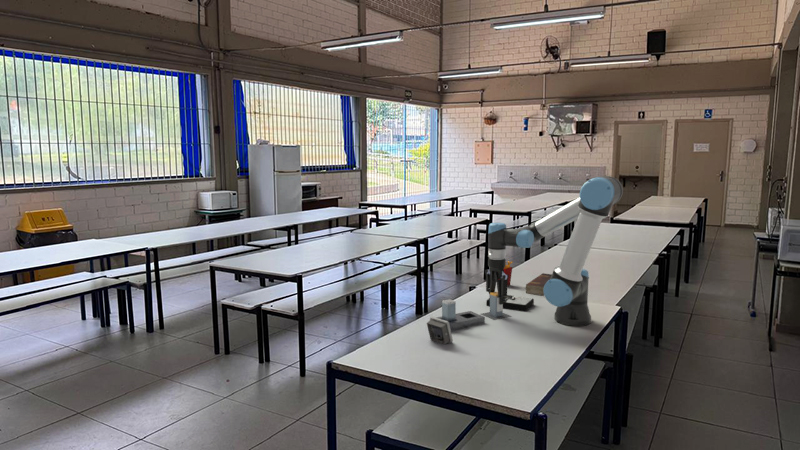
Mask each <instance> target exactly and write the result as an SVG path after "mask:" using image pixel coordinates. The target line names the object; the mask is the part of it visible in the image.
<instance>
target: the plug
mask: <svg viewBox="0 0 800 450" xmlns="http://www.w3.org/2000/svg"><path fill="white" fill-rule="evenodd" d="M497 296H498V291H495V292H491V293H490V294H489V298H490V306H489V312H490V315H492V316H494V317H498V316H502V315H503V313H504V310H503V311H500V312H497Z"/></svg>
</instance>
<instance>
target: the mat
mask: <svg viewBox="0 0 800 450" xmlns="http://www.w3.org/2000/svg"><path fill="white" fill-rule="evenodd" d="M480 315H481V316H484V317H485V318H488V319H491V320H493V321H496V320H501V319H507V318H512V315H510V314H508V313H505V312H503V315H502V316H498V317H494V316H492V315H490V311H489V312H487V311H486V312H484V313H480Z"/></svg>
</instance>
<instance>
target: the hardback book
mask: <svg viewBox="0 0 800 450" xmlns="http://www.w3.org/2000/svg"><path fill="white" fill-rule="evenodd" d="M551 276H552V273H544V272H543V273H541V274H539V275H538V276H536V277H535V278H534V279H532V280H531V281H529V282H527V283H526V284H525V294H531V295H536V296H537V295H538V296H544V292H543V289H544V285H545V284H546V282H547V281H548V280H550V278H551Z"/></svg>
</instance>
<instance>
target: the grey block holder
mask: <svg viewBox="0 0 800 450" xmlns="http://www.w3.org/2000/svg"><path fill="white" fill-rule="evenodd" d="M441 302H442V303H441V305H442V306H441V316H438V317H435V318H438V319H442V320H445V321H448V322H449V325H450V329H451V332H453V331H457V330H461V329H467V328H469V327H473V326H478V325H482V324H485V321H486V320H485V319H486V316H483V315H481V314H478V313H477V312H474V311H472V310H468V311H464V312H459V313H457V312H456V309H457V308H456V306H457V305H456V301H455V300H453V299H444V300H442V301H441Z"/></svg>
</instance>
